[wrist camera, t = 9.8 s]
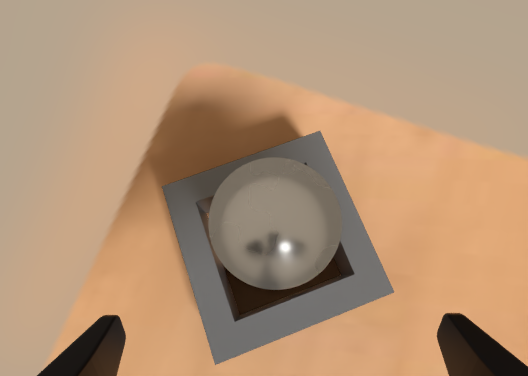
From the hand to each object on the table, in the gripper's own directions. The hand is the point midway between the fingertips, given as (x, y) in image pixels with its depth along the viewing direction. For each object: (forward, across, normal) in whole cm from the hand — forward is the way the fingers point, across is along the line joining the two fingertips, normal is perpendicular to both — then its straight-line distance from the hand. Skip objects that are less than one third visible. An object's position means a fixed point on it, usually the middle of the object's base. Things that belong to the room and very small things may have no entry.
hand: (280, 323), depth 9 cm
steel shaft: (+11, 0, +6) cm, 13 cm away
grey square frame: (+11, 0, +6) cm, 13 cm away
